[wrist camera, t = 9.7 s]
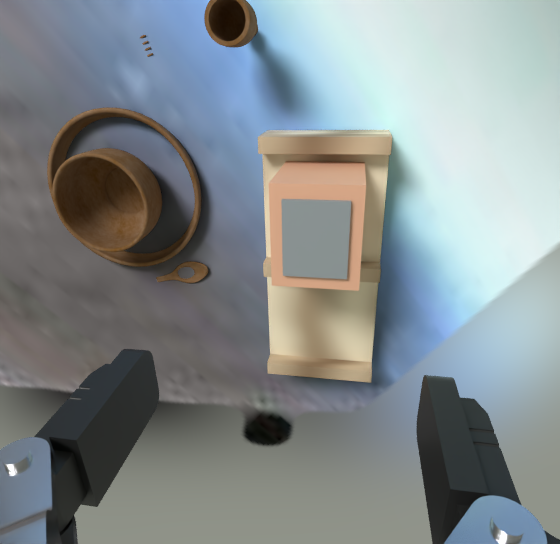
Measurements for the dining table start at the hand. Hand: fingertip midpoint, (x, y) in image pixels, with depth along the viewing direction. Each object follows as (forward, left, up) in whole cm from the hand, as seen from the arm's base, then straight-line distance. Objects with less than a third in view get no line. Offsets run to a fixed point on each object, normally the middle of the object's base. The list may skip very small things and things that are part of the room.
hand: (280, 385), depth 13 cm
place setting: (+11, -2, -21) cm, 24 cm away
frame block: (0, 0, -18) cm, 18 cm away
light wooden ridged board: (0, +4, -20) cm, 20 cm away
